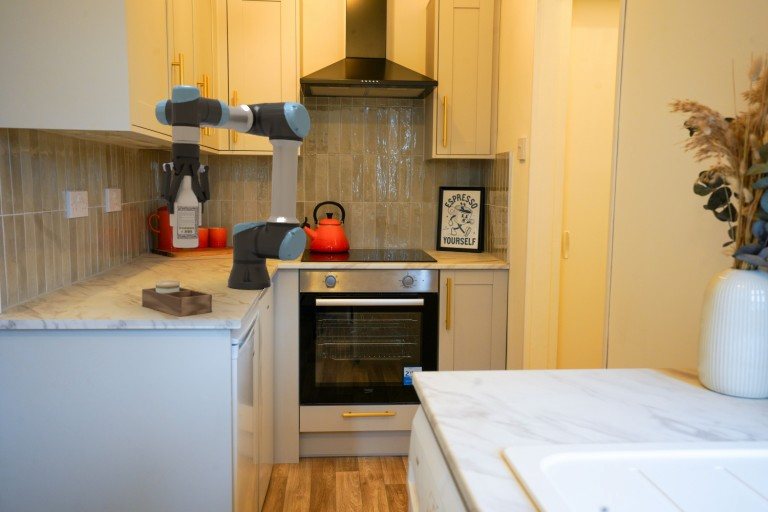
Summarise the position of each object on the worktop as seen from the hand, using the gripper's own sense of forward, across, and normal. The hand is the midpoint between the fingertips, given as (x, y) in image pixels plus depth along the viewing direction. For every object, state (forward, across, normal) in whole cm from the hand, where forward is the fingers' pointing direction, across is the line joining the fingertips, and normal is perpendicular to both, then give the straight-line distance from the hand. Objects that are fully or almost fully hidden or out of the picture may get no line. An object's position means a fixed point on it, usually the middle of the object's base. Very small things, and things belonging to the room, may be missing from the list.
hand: (185, 225), depth 186 cm
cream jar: (+25, 0, -10) cm, 26 cm away
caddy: (+25, 0, -5) cm, 25 cm away
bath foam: (+6, 0, 0) cm, 6 cm away
